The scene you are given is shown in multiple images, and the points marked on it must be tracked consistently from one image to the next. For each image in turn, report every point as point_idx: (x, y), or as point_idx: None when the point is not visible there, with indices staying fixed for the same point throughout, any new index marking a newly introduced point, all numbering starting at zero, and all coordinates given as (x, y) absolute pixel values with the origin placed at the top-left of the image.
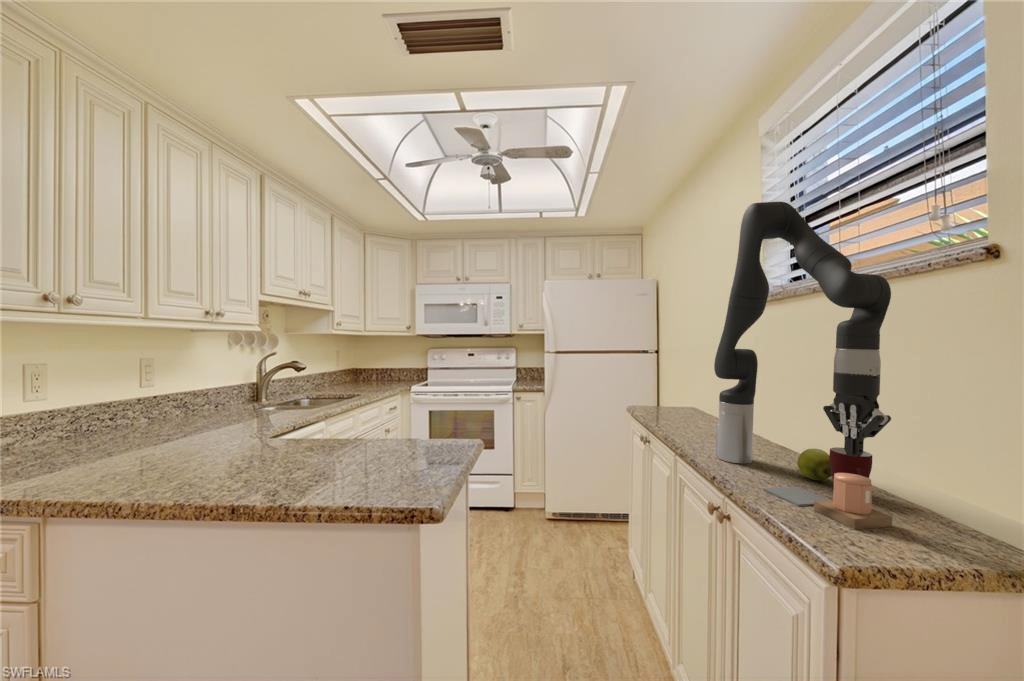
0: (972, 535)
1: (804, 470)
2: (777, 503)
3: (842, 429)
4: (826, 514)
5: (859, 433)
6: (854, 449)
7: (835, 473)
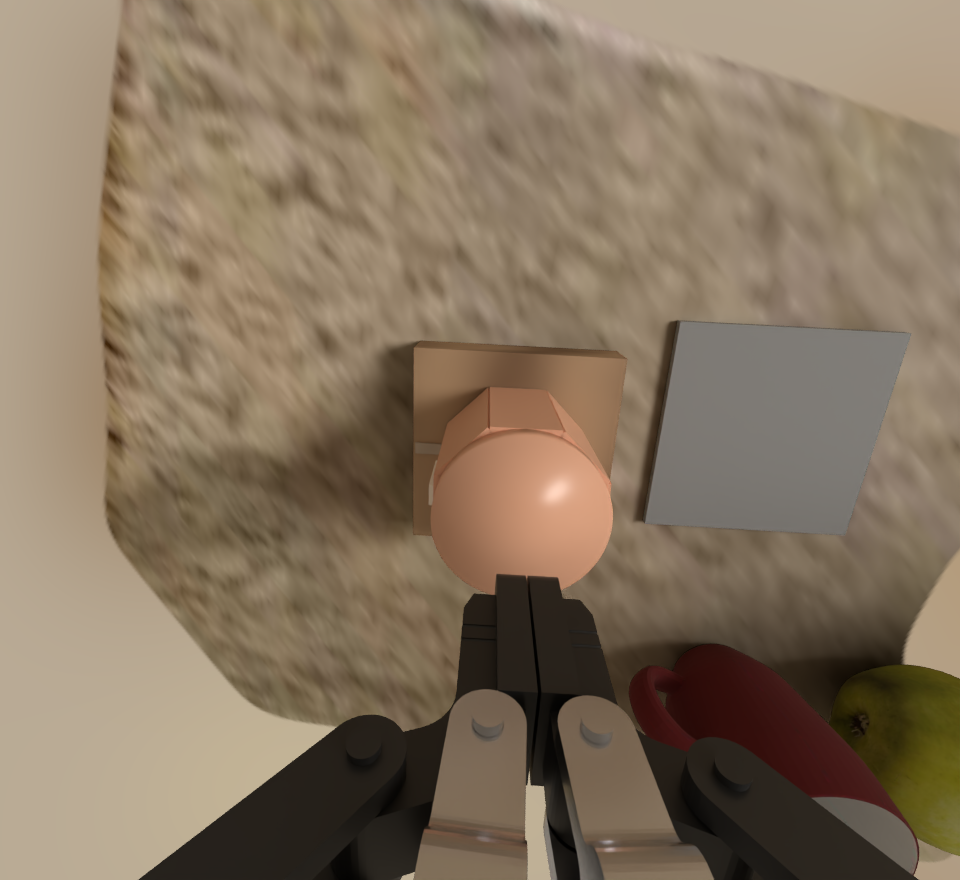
0: (326, 684)
1: (932, 674)
2: (741, 245)
3: (679, 794)
4: (552, 349)
5: (399, 757)
6: (494, 623)
7: (607, 492)
